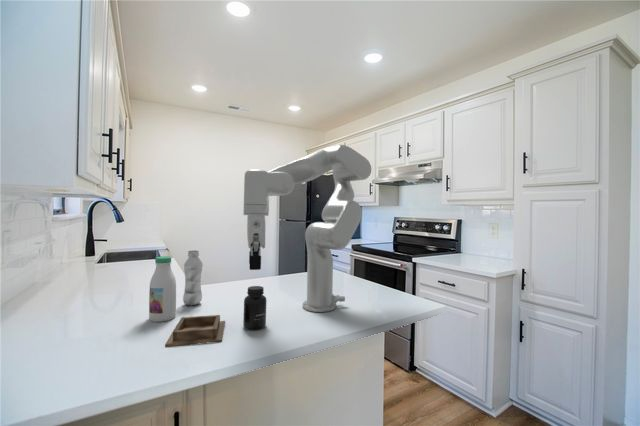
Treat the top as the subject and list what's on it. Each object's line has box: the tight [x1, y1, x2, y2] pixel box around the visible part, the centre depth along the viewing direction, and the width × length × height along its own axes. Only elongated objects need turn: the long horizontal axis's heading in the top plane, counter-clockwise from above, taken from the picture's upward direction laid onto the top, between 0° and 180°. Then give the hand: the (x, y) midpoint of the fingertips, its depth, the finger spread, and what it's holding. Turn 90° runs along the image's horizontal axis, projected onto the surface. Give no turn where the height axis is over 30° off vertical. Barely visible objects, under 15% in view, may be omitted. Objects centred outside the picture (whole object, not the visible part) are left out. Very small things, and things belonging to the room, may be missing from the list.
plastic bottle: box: [182, 250, 203, 306], centre depth 111 cm, size 6×7×20 cm
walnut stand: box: [164, 314, 226, 348], centre depth 85 cm, size 14×14×3 cm
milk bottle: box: [148, 255, 177, 323], centre depth 97 cm, size 8×8×20 cm
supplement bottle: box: [242, 285, 267, 331], centre depth 91 cm, size 7×7×12 cm
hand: (254, 266), depth 91 cm, fingers open, 9 cm apart
